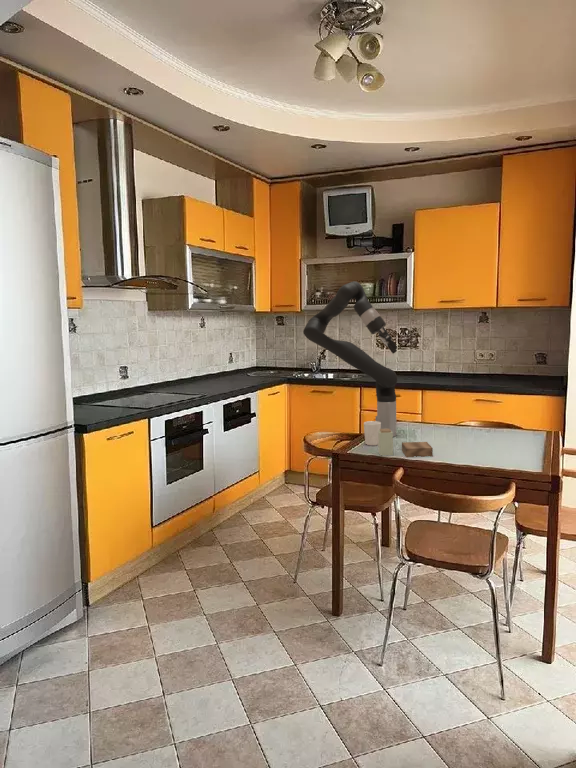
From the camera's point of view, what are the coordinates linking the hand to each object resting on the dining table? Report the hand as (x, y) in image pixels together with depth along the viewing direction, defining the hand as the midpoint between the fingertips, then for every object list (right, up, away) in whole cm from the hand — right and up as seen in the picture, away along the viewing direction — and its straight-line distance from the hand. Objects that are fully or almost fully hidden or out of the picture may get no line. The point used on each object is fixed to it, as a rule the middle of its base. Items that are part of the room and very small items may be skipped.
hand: (395, 350), depth 242 cm
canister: (-4, -44, +3) cm, 45 cm away
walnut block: (+10, -44, +3) cm, 46 cm away
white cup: (-6, -42, +22) cm, 48 cm away
